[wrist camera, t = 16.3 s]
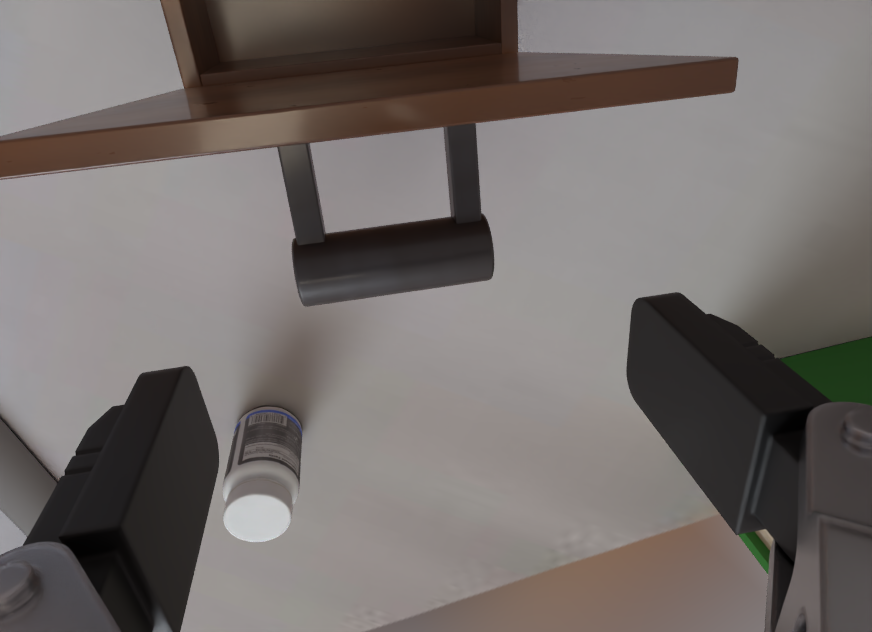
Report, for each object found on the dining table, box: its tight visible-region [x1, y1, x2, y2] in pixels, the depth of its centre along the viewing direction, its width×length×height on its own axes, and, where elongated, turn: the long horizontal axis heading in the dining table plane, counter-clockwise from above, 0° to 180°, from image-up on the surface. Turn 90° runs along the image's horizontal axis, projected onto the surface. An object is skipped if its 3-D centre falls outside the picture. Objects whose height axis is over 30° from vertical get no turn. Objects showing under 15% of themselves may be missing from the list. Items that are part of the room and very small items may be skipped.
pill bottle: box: [223, 407, 302, 542], centre depth 39 cm, size 5×5×8 cm
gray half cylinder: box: [0, 419, 57, 537], centre depth 40 cm, size 4×20×2 cm, turn 16°
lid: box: [0, 52, 738, 307], centre depth 20 cm, size 16×15×5 cm
